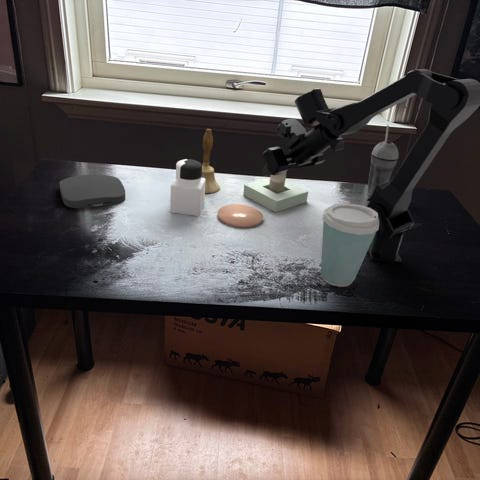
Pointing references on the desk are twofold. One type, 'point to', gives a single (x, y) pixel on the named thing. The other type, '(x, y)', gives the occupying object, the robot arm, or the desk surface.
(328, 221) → the disposable coffee cup
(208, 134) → the hand bell
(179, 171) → the medicine bottle
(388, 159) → the beverage cup
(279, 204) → the socket block
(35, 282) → the desk surface
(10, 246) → the desk surface
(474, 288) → the desk surface
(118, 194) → the media streaming box
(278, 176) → the beige cylinder
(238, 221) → the terracotta coaster
